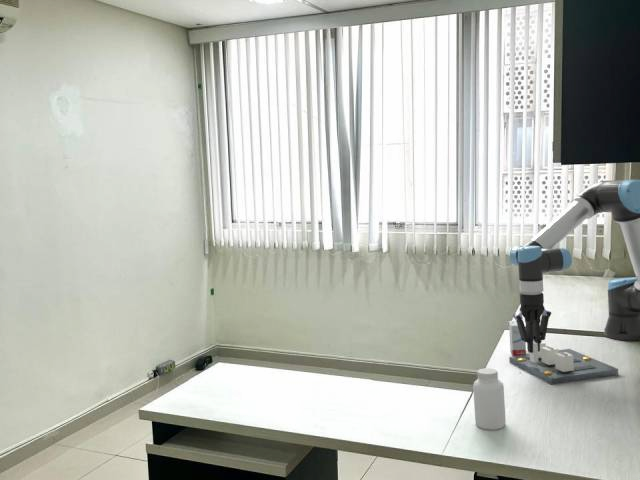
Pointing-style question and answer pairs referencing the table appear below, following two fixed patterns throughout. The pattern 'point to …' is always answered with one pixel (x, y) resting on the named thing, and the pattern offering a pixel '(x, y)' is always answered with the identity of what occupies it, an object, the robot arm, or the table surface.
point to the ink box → (516, 340)
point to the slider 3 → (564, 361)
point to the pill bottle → (489, 400)
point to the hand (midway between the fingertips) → (534, 361)
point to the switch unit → (582, 371)
